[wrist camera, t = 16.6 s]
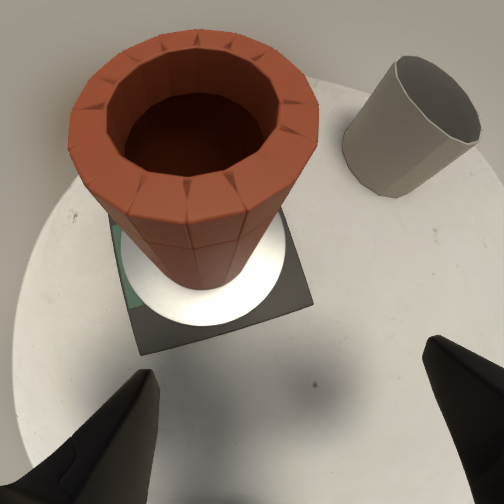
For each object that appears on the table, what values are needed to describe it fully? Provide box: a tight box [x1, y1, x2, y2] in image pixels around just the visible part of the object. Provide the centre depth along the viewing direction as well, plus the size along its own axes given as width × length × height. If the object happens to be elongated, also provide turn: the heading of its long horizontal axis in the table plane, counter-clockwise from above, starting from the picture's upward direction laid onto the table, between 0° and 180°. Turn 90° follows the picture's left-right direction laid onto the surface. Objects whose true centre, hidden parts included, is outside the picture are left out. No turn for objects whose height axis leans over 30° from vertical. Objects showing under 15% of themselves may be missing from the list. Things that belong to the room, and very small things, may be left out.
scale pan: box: [120, 212, 286, 327], centre depth 19 cm, size 10×10×1 cm
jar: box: [68, 29, 319, 290], centre depth 12 cm, size 6×6×12 cm
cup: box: [342, 55, 482, 198], centre depth 21 cm, size 8×8×10 cm
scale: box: [108, 207, 314, 356], centre depth 20 cm, size 12×12×3 cm
